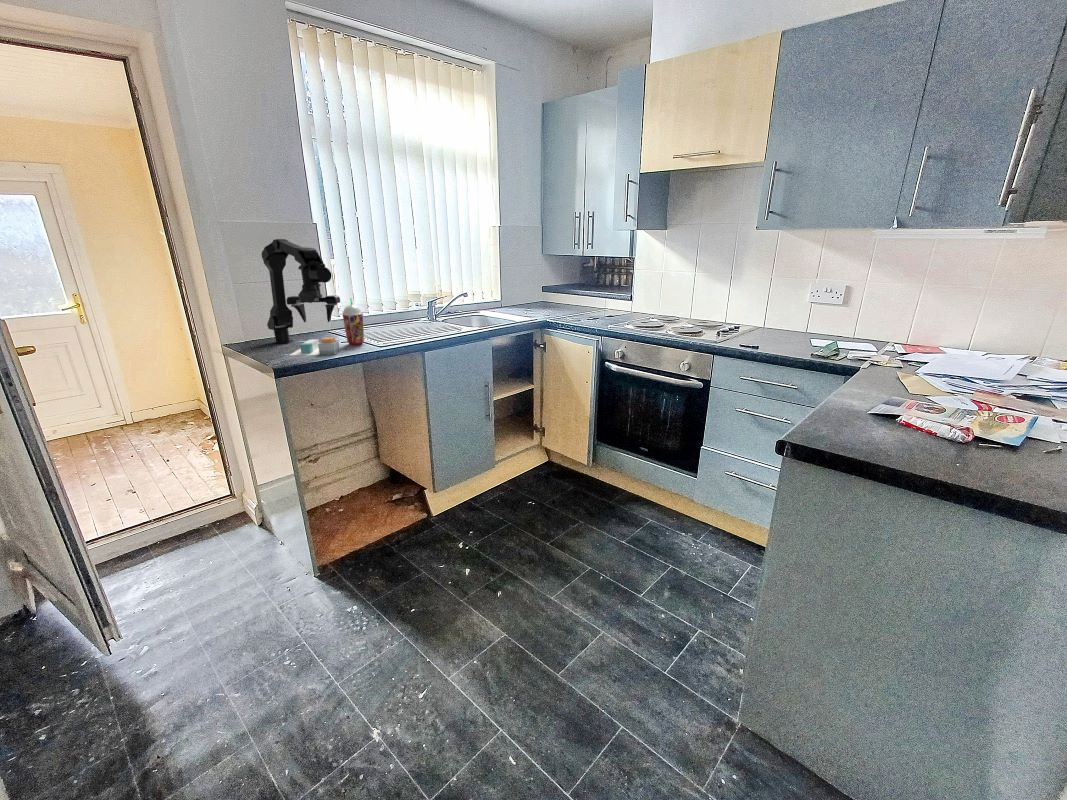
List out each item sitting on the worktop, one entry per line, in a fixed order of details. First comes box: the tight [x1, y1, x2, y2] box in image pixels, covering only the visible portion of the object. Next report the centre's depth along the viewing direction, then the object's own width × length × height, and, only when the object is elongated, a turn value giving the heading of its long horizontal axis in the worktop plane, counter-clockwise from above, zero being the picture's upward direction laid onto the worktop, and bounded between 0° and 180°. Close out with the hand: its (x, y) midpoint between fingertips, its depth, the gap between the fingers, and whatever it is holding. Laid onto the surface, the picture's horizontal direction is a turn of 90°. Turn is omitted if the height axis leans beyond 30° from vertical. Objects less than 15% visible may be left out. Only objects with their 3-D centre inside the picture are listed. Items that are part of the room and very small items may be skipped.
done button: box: [320, 336, 336, 343], centre depth 187 cm, size 4×4×3 cm
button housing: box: [318, 339, 341, 356], centre depth 188 cm, size 6×6×4 cm
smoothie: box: [342, 297, 365, 347], centre depth 201 cm, size 8×8×20 cm
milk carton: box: [299, 339, 320, 353], centre depth 191 cm, size 10×4×4 cm, turn 5°
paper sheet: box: [289, 348, 320, 356], centre depth 191 cm, size 16×11×1 cm
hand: (317, 321), depth 185 cm, fingers open, 9 cm apart
